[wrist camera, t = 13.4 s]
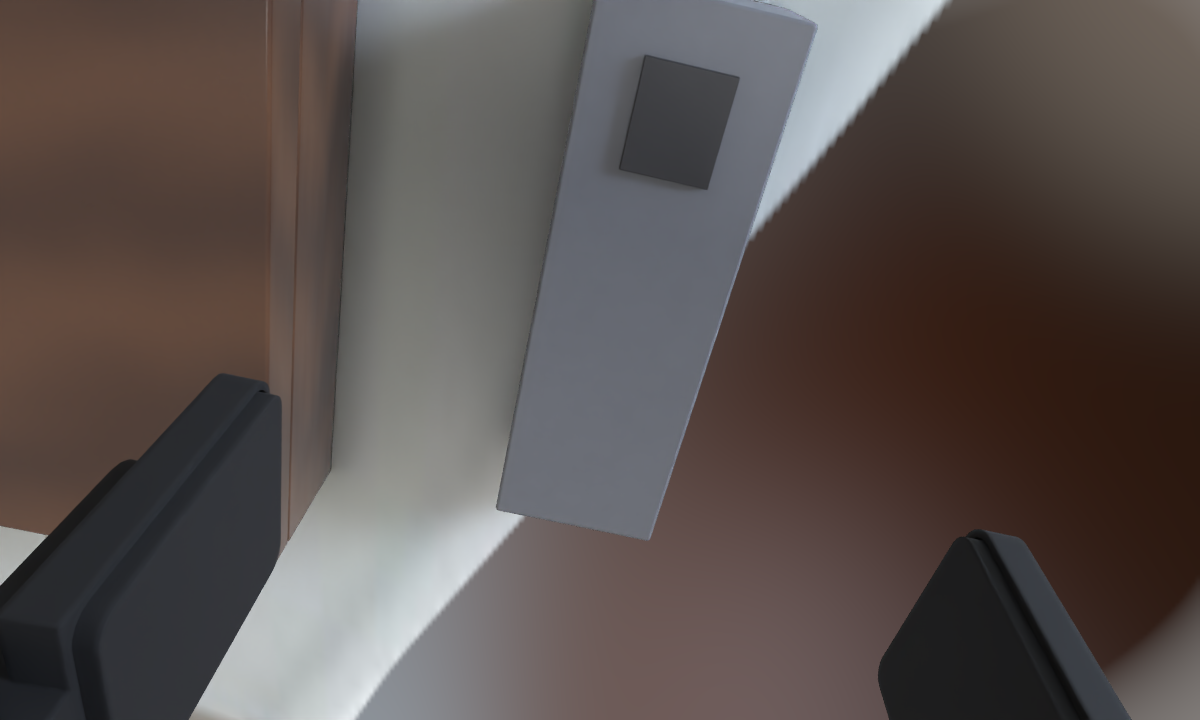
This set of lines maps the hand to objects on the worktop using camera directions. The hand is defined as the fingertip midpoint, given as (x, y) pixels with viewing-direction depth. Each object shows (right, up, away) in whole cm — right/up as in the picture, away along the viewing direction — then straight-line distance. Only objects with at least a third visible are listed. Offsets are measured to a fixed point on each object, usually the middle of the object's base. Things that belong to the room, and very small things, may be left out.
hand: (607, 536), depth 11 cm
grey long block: (+1, +5, +11) cm, 12 cm away
